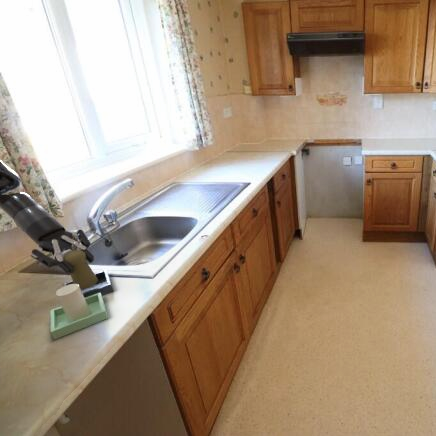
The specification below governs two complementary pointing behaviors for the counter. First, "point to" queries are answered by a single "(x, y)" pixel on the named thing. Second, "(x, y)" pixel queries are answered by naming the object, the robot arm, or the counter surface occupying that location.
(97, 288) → the dark tray
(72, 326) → the light tray
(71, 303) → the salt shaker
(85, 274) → the cork
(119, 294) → the counter surface
